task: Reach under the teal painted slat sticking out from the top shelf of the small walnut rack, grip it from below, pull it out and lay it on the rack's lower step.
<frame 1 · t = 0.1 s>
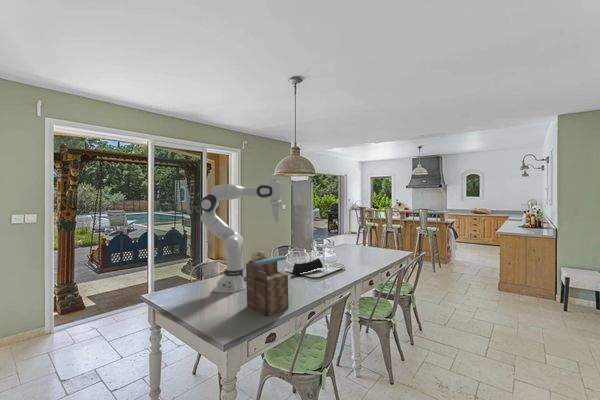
hand: (276, 221, 207), 48 cm above the table, tool pointing down, fingers open, 8 cm apart
blue grey cup: (254, 275, 239), on the table
rack: (267, 307, 171), on the table
slat: (270, 261, 176), point 26 cm above the table, touching rack
magazine: (308, 273, 244), on the table
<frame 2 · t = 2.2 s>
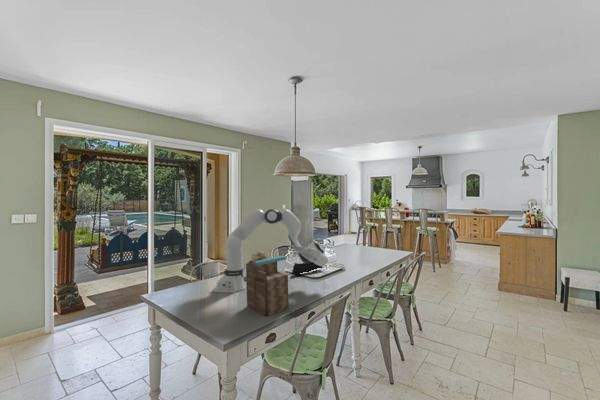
hand: (298, 246, 191), 32 cm above the table, tool pointing upward, fingers open, 8 cm apart
nothing on the table moved.
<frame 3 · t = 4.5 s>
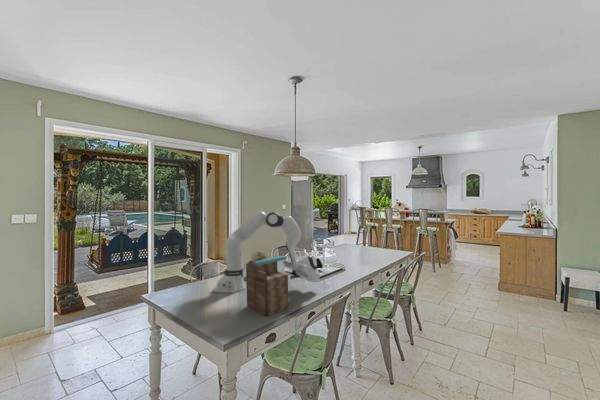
hand: (288, 262, 185), 23 cm above the table, tool pointing upward, fingers open, 8 cm apart
nothing on the table moved.
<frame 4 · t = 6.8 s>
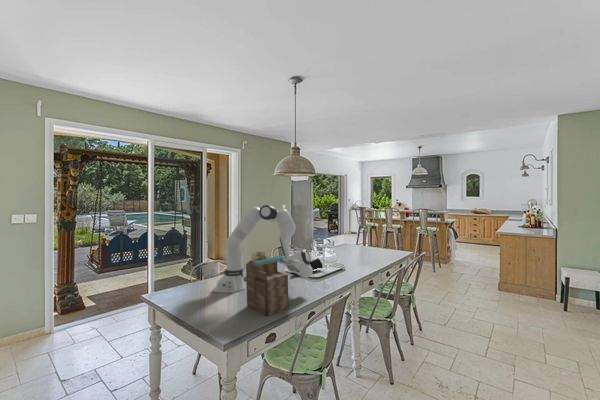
hand: (279, 257, 180), 27 cm above the table, tool pointing upward, fingers closed on slat, 4 cm apart
slat: (270, 261, 176), point 26 cm above the table, touching gripper, rack
everything else where it was.
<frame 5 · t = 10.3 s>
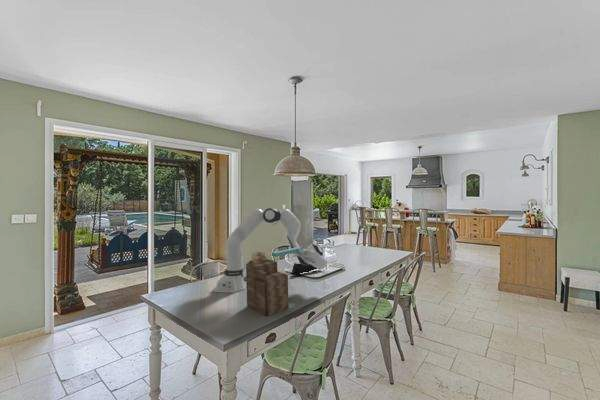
hand: (295, 249, 184), 32 cm above the table, tool pointing upward, fingers closed on slat, 4 cm apart
slat: (287, 253, 180), point 30 cm above the table, touching gripper
everything else where it was.
when the fingers open (23 cm above the table, at t = 14.3 s): slat drops 1 cm, resting on rack.
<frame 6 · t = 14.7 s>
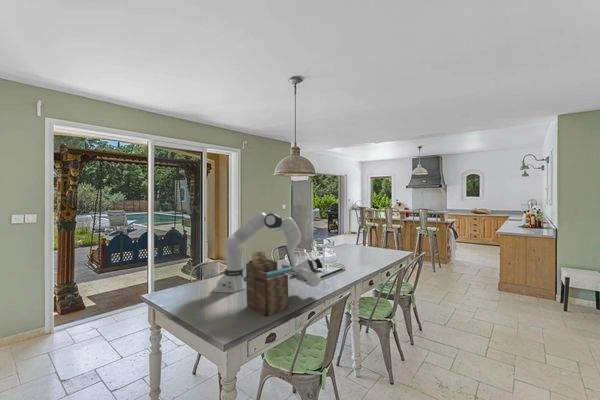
hand: (287, 266, 175), 23 cm above the table, tool pointing upward, fingers open, 8 cm apart
slat: (278, 273, 170), point 20 cm above the table, touching rack
everything else where it was.
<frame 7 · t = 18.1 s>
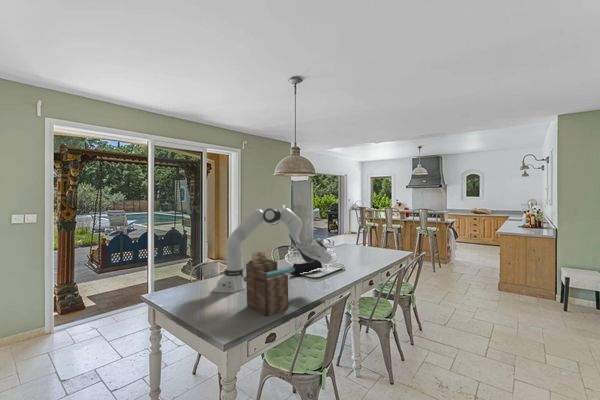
hand: (301, 243, 182), 36 cm above the table, tool pointing upward, fingers open, 8 cm apart
nothing on the table moved.
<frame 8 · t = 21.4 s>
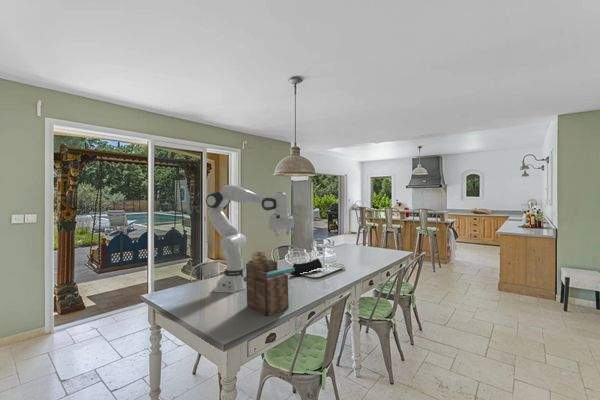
hand: (282, 235, 198), 39 cm above the table, tool pointing down, fingers open, 8 cm apart
nothing on the table moved.
at the end: slat inside the target area on the rack (0.1 cm from its centre), point 20.0 cm above the rack's base; the gripper is holding nothing; slat tilted 0° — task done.
